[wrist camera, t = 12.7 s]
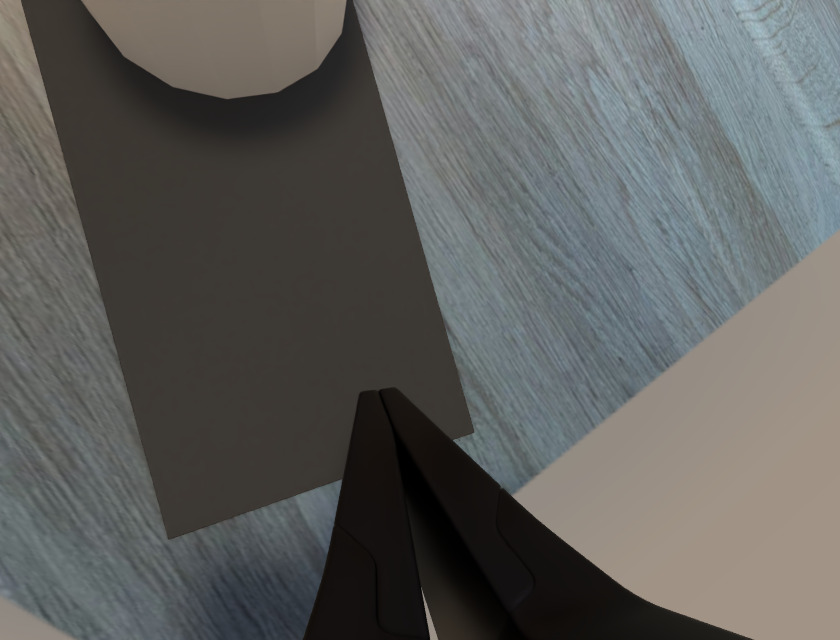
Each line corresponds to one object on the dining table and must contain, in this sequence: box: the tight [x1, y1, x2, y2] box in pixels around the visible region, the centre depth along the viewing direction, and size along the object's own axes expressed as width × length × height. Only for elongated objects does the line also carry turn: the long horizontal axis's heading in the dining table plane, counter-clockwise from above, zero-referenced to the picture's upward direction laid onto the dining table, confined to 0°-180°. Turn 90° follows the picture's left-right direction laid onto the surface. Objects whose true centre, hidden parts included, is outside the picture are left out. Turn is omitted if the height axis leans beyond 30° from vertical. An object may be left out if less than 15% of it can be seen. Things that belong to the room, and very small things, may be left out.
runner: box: [21, 0, 474, 539], centre depth 22 cm, size 32×16×1 cm, turn 16°
